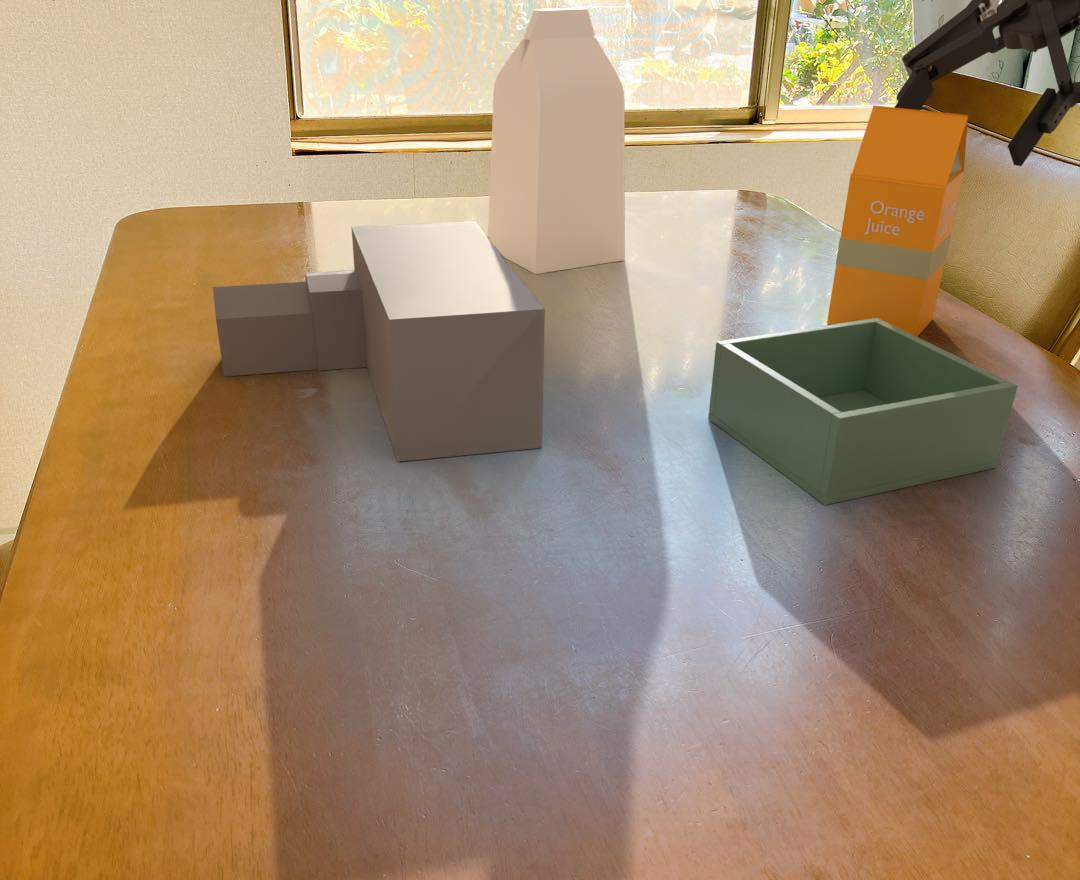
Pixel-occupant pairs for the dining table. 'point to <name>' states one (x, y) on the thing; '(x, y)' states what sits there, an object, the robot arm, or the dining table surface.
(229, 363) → the grey stepped block
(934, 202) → the orange juice
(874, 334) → the crate
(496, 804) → the dining table surface
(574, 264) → the milk
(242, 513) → the dining table surface
